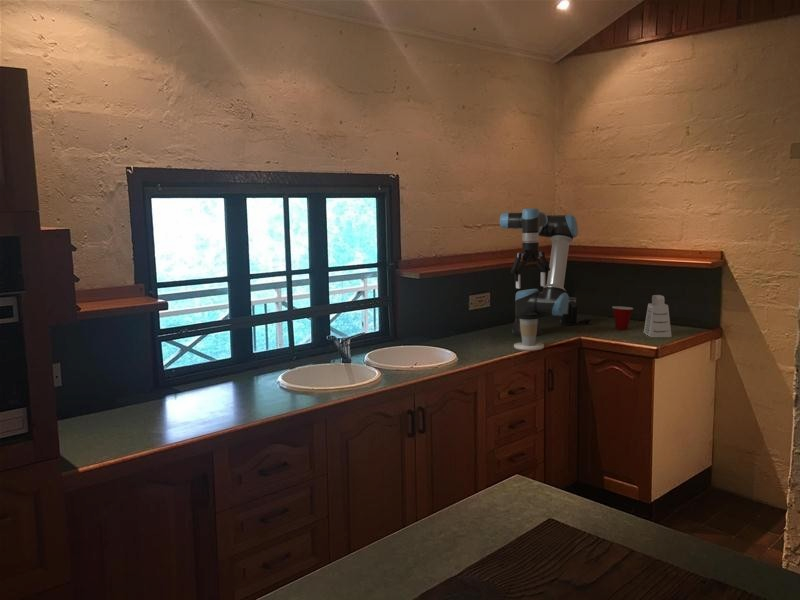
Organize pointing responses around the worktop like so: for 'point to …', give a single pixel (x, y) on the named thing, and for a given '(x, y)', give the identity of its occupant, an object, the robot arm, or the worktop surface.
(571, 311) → the milk frother
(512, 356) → the worktop surface
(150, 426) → the worktop surface
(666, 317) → the grater
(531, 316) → the coffee cup
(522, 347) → the saucer
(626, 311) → the plastic cup
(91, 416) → the worktop surface
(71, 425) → the worktop surface
